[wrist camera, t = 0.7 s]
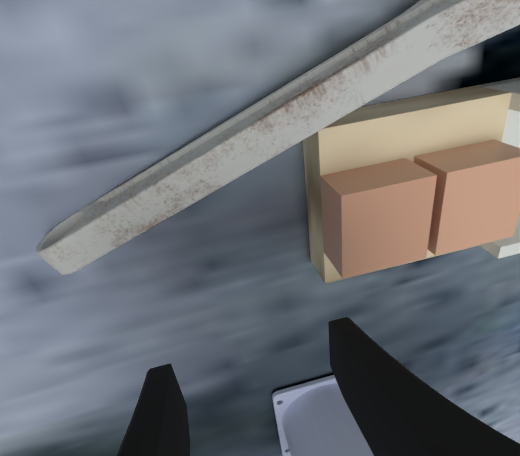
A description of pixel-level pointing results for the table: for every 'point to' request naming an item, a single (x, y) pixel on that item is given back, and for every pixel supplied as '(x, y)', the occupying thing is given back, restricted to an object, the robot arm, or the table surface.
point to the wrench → (276, 124)
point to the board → (396, 143)
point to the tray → (516, 134)
